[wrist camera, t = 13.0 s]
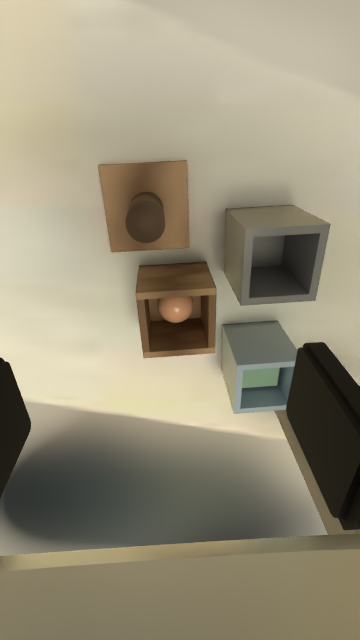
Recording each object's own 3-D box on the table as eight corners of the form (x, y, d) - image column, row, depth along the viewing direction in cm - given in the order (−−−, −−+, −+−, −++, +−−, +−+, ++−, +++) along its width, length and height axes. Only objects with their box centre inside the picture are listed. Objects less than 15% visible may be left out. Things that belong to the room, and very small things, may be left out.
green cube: (269, 332, 34) (281, 354, 31) (265, 361, 36) (277, 385, 33) (232, 334, 34) (241, 357, 31) (231, 364, 36) (238, 388, 33)
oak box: (205, 261, 30) (216, 287, 25) (205, 319, 34) (214, 352, 28) (139, 266, 30) (135, 293, 25) (145, 323, 33) (143, 358, 28)
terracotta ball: (191, 279, 31) (195, 295, 28) (192, 310, 32) (195, 328, 29) (156, 282, 30) (156, 297, 28) (158, 313, 32) (159, 330, 29)
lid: (185, 160, 26) (193, 166, 21) (188, 243, 30) (195, 267, 24) (100, 164, 26) (86, 172, 21) (113, 248, 29) (103, 273, 24)
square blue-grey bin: (277, 320, 34) (303, 360, 28) (271, 364, 37) (293, 408, 31) (222, 324, 34) (236, 365, 28) (221, 368, 37) (233, 413, 31)
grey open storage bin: (293, 205, 28) (330, 224, 22) (284, 268, 31) (315, 300, 25) (226, 208, 28) (245, 228, 22) (224, 272, 31) (240, 305, 25)
